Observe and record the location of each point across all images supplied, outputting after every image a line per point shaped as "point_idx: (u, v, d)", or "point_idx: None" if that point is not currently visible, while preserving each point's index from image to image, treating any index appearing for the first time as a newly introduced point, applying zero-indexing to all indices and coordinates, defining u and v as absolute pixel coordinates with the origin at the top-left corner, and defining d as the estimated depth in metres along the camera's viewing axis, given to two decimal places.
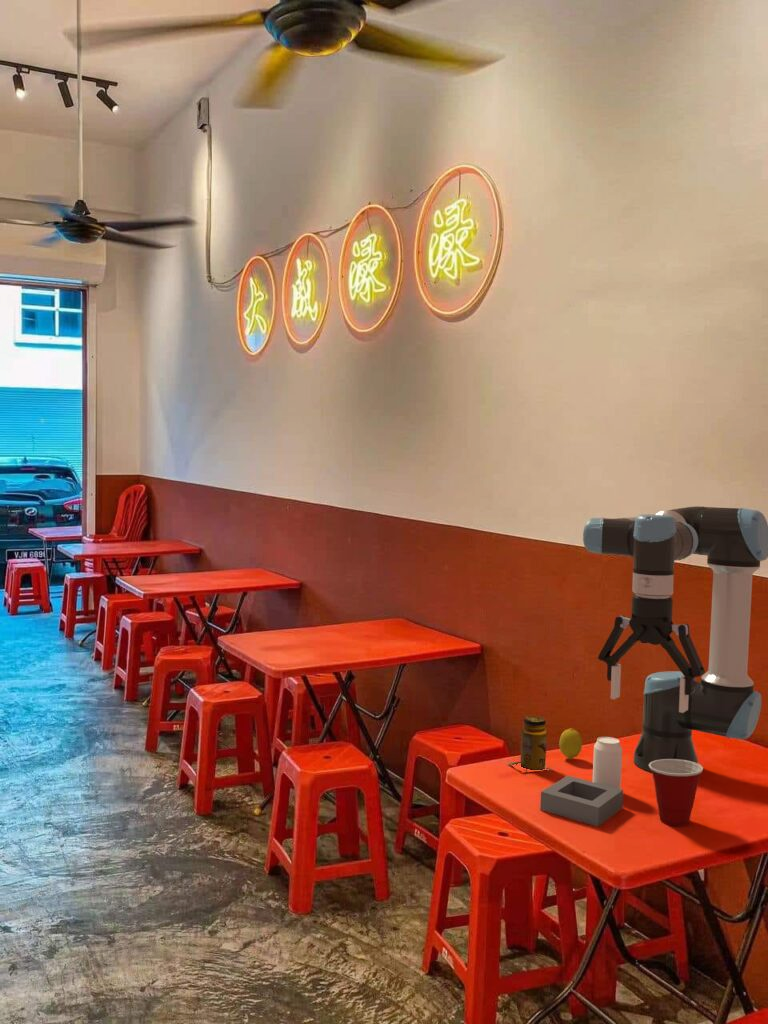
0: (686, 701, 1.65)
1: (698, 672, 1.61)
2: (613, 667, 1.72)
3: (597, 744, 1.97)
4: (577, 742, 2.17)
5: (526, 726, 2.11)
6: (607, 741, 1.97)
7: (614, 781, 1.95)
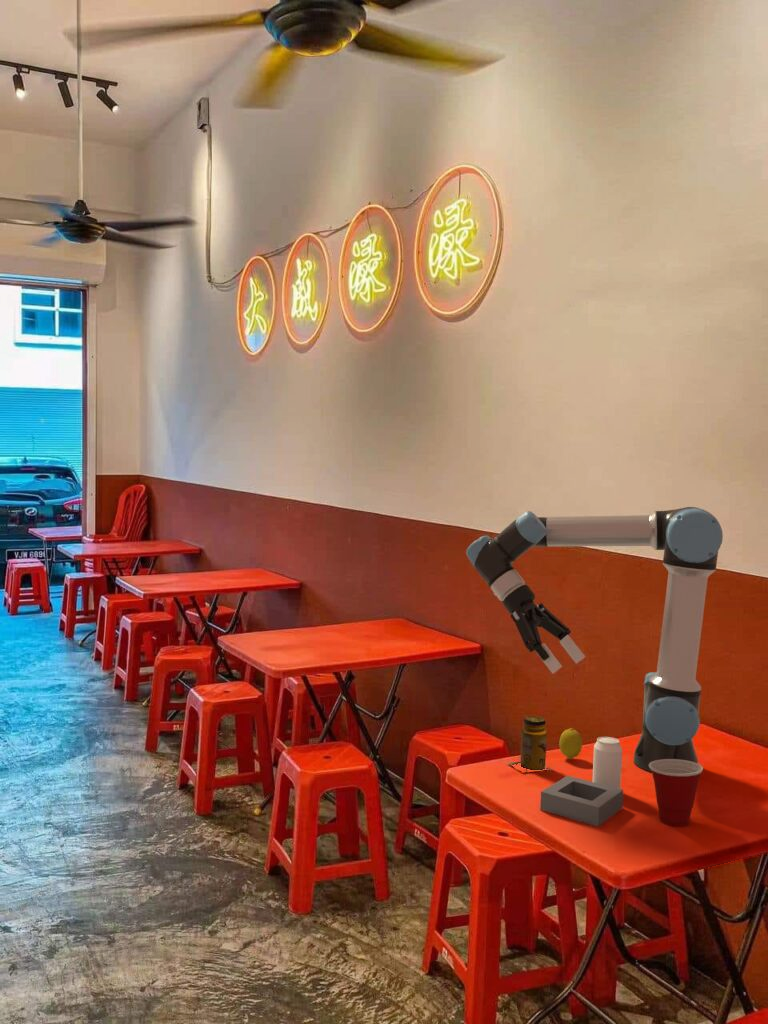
0: (552, 663, 1.96)
1: None
2: None
3: (597, 744, 1.97)
4: (577, 742, 2.17)
5: (526, 726, 2.11)
6: (607, 741, 1.97)
7: (614, 781, 1.95)
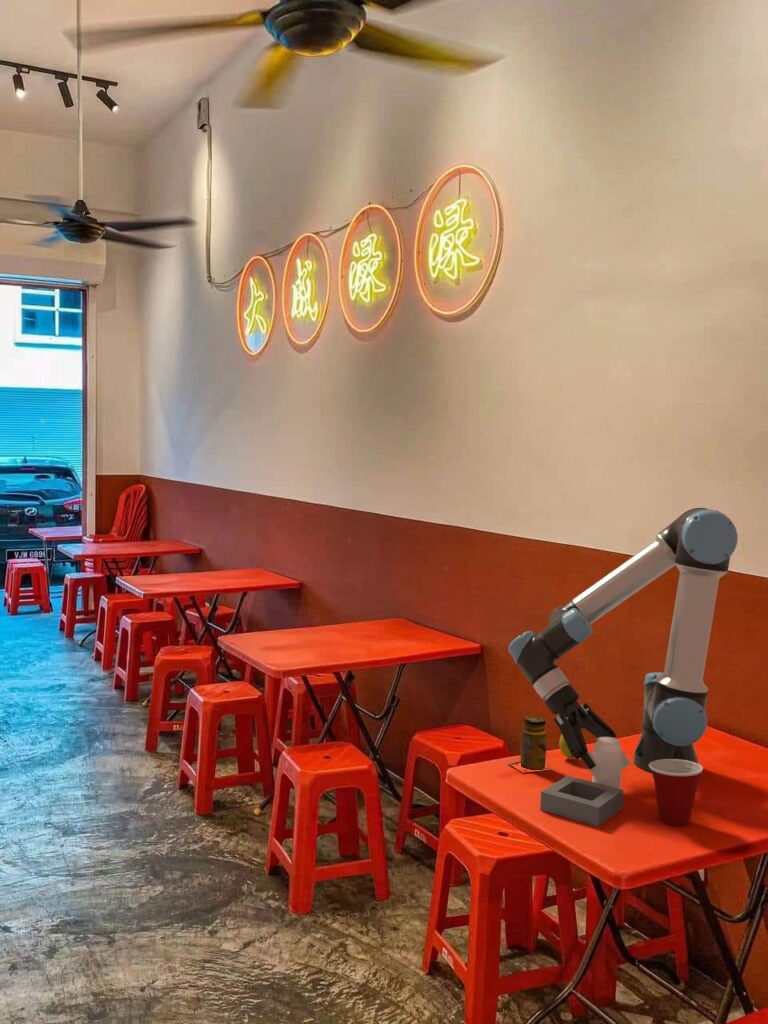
0: (599, 772, 1.91)
1: None
2: None
3: (597, 744, 1.97)
4: None
5: (526, 726, 2.11)
6: (607, 741, 1.97)
7: (614, 781, 1.95)
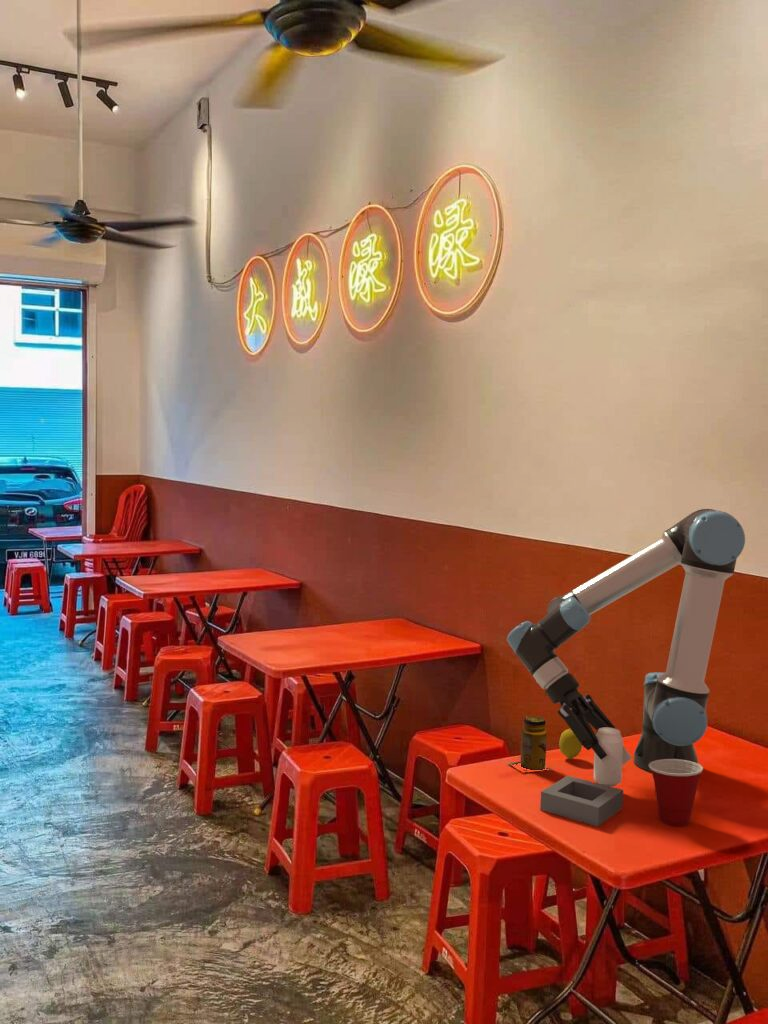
0: (610, 762, 1.93)
1: None
2: None
3: (598, 735, 1.96)
4: (577, 742, 2.17)
5: (526, 726, 2.11)
6: (608, 732, 1.96)
7: (615, 771, 1.94)
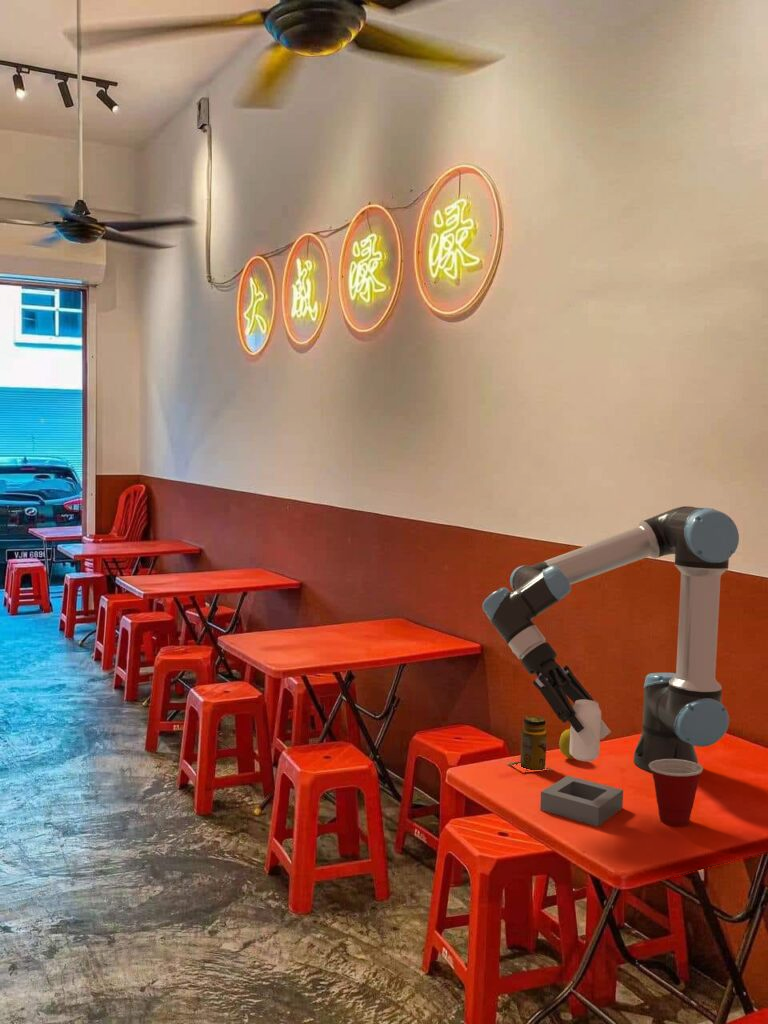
0: (587, 735, 1.82)
1: None
2: None
3: (575, 707, 1.85)
4: None
5: (526, 726, 2.11)
6: (585, 704, 1.86)
7: (592, 745, 1.83)
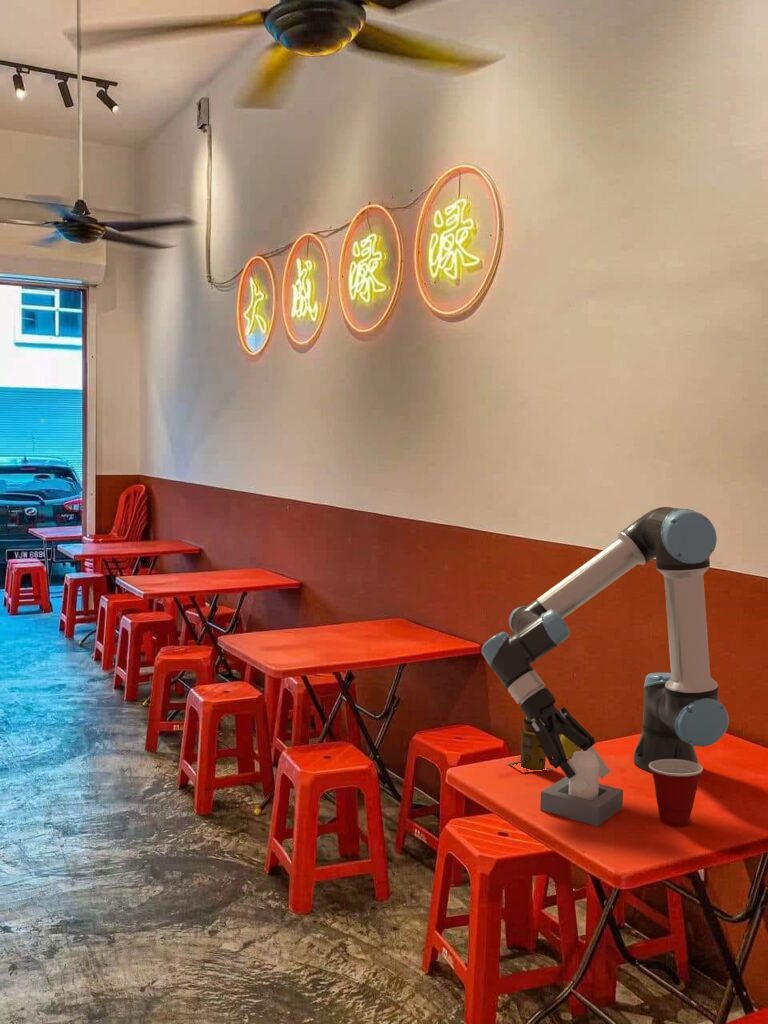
0: (579, 781, 1.81)
1: None
2: None
3: (573, 759, 1.86)
4: None
5: (526, 726, 2.11)
6: (584, 756, 1.86)
7: (590, 798, 1.84)
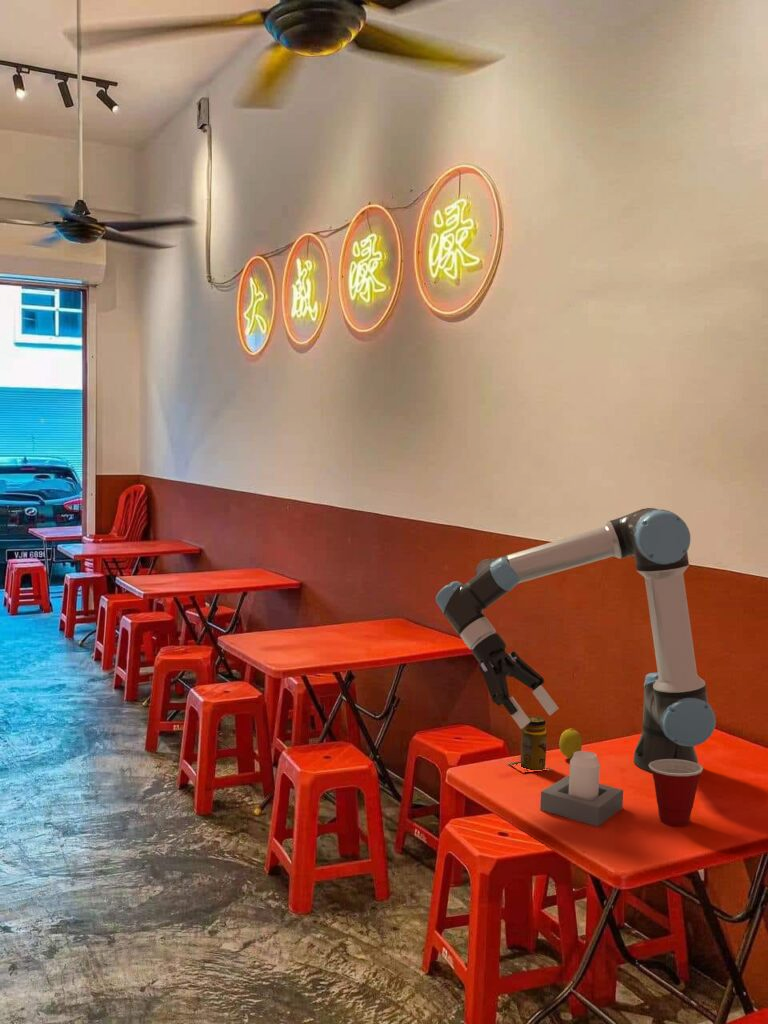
0: (521, 717, 1.88)
1: None
2: None
3: (573, 759, 1.86)
4: (577, 742, 2.17)
5: (526, 726, 2.11)
6: (584, 756, 1.86)
7: (590, 798, 1.84)
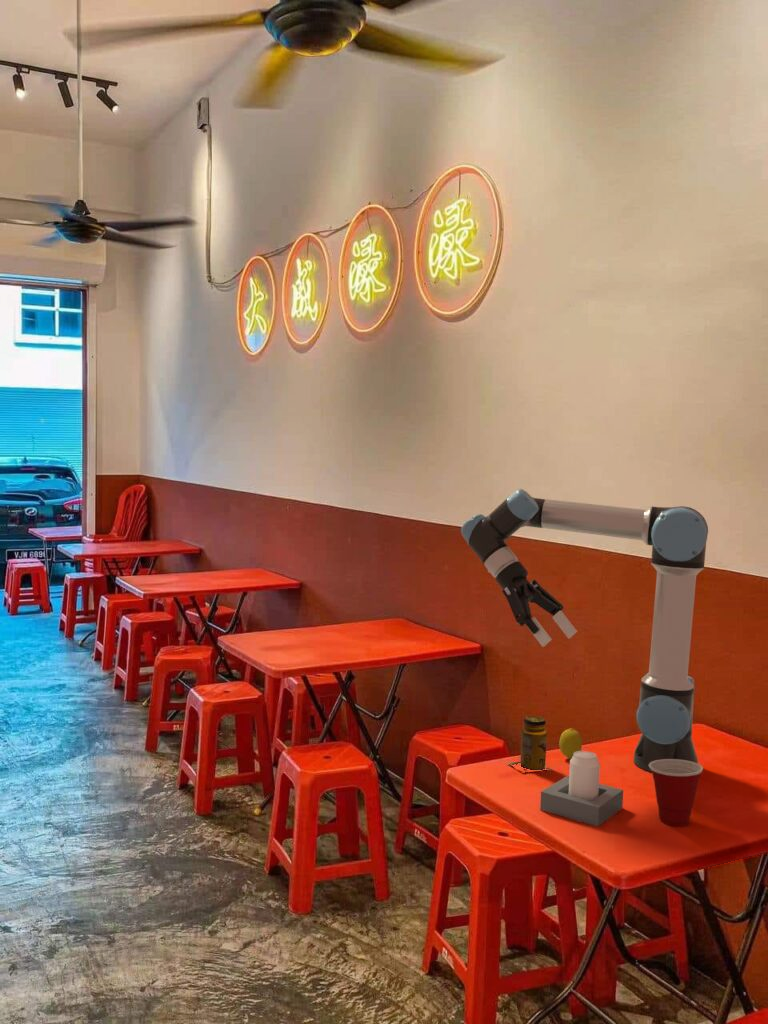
0: (542, 636, 2.01)
1: None
2: None
3: (573, 759, 1.86)
4: (577, 742, 2.17)
5: (526, 726, 2.11)
6: (584, 755, 1.86)
7: (590, 798, 1.84)
